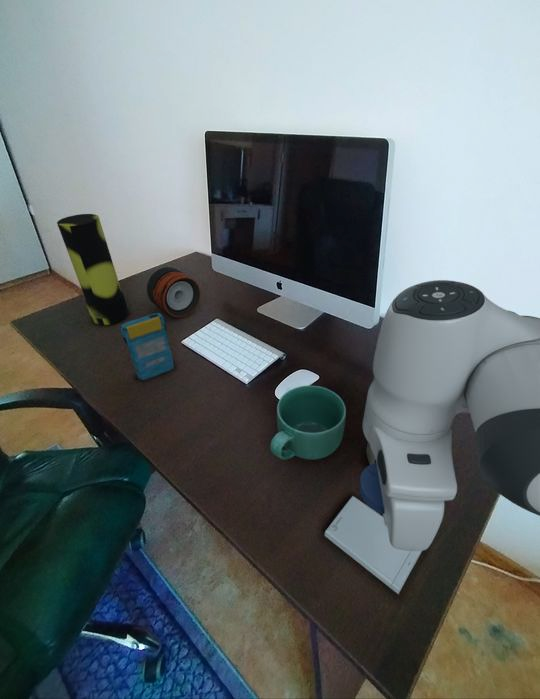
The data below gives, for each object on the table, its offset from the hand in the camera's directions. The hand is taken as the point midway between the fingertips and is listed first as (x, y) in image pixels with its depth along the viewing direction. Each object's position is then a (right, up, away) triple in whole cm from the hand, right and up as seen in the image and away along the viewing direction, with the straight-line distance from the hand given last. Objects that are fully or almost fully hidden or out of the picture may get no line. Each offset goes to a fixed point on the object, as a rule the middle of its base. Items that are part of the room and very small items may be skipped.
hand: (385, 492), depth 49 cm
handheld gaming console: (-44, +13, +43) cm, 63 cm away
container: (-65, +29, +66) cm, 97 cm away
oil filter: (-45, +32, +68) cm, 88 cm away
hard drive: (0, -11, +8) cm, 14 cm away
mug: (-9, 0, +23) cm, 25 cm away
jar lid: (0, +1, -1) cm, 2 cm away
